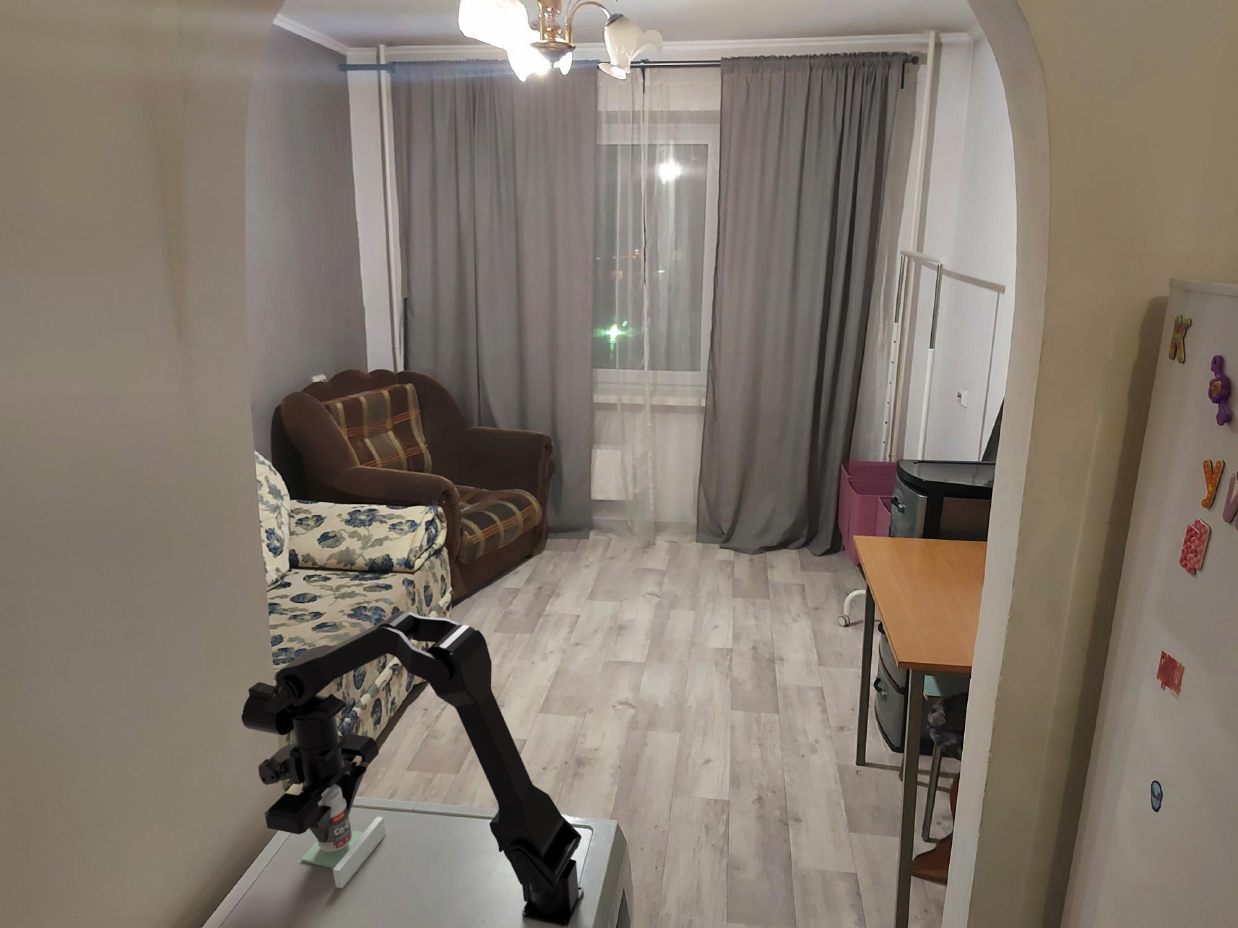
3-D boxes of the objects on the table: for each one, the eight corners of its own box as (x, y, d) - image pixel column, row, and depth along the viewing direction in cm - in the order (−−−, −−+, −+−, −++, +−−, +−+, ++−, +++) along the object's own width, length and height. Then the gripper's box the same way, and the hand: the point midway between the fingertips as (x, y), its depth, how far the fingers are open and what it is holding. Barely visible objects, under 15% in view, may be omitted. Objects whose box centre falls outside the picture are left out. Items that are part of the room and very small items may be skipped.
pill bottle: (342, 854, 123) (333, 805, 120) (312, 850, 124) (302, 802, 121) (358, 831, 127) (349, 783, 124) (329, 828, 128) (320, 780, 125)
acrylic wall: (386, 833, 128) (383, 817, 127) (342, 888, 118) (339, 870, 117) (380, 832, 128) (377, 816, 127) (336, 886, 118) (332, 869, 117)
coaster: (370, 836, 128) (370, 833, 128) (342, 869, 121) (342, 867, 121) (331, 828, 130) (330, 825, 130) (301, 860, 124) (301, 858, 123)
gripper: (310, 694, 131) (326, 781, 136) (222, 769, 114) (244, 865, 119) (373, 703, 128) (387, 791, 132) (292, 782, 111) (311, 880, 115)
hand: (333, 829), depth 125 cm, fingers closed on pill bottle, 5 cm apart
